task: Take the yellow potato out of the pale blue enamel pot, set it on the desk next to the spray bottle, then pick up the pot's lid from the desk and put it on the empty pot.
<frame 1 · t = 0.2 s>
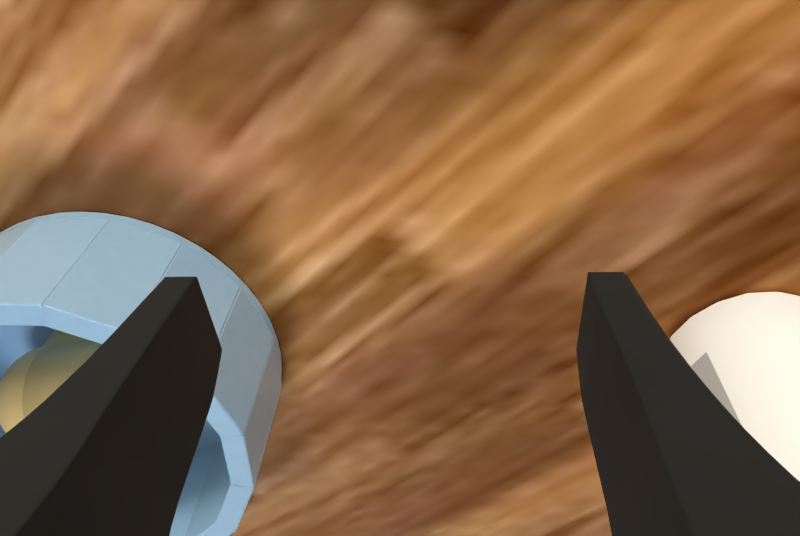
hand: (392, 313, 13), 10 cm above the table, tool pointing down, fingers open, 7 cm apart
pot: (123, 350, 28), on the table
spray bottle: (744, 357, 27), on the table
potato: (119, 359, 28), resting on pot
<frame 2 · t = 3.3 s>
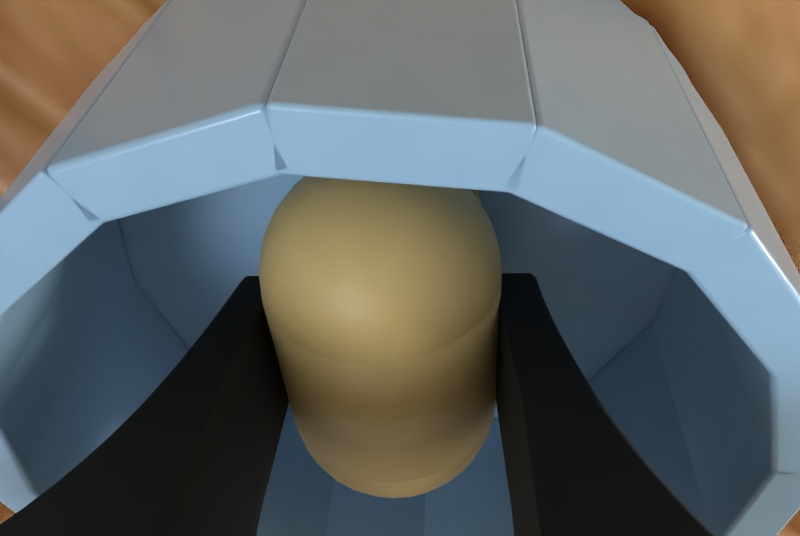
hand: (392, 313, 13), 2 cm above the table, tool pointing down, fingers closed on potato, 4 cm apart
pot: (397, 247, 15), on the table
potato: (394, 263, 14), point 1 cm above the table, touching gripper, pot
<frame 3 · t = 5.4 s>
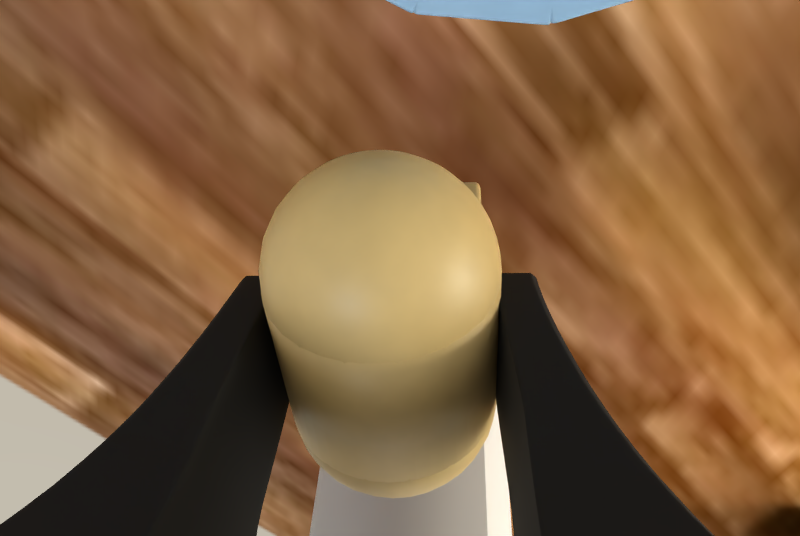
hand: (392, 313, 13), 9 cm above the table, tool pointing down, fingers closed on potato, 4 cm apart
spray bottle: (417, 385, 29), on the table
potato: (394, 263, 14), point 7 cm above the table, touching gripper
when the fingers open (1 cm above the table, at t = 7.8 s): potato stays where it is, on the table.
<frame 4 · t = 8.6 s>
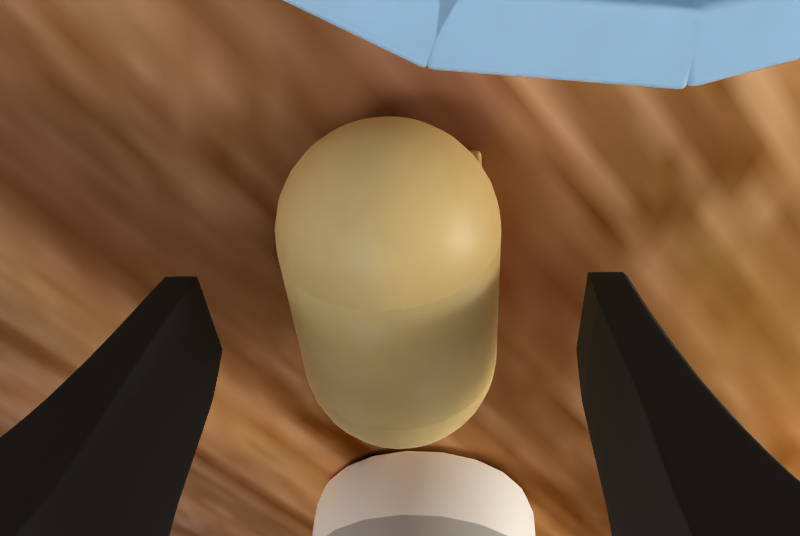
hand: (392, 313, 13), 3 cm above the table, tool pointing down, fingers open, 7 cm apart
spray bottle: (424, 500, 23), on the table
potato: (400, 229, 15), on the table
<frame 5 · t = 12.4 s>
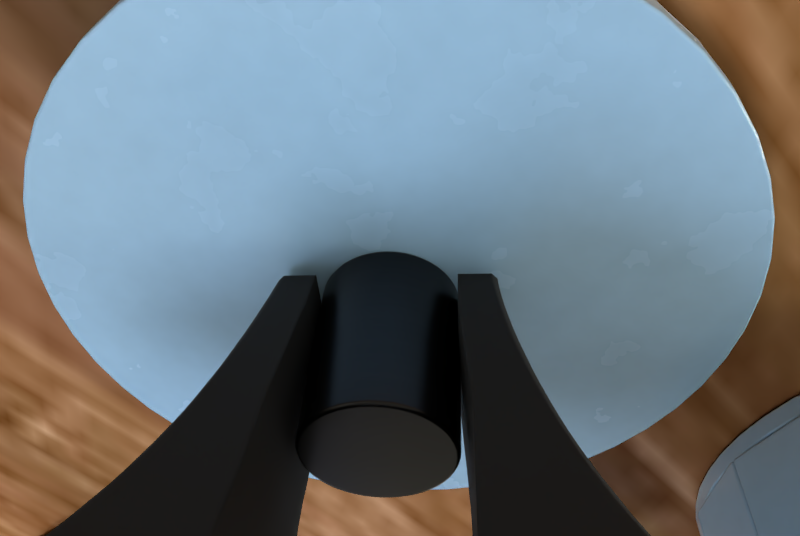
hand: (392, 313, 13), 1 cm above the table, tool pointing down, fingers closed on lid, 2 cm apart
lid: (393, 283, 14), point 1 cm above the table, touching gripper
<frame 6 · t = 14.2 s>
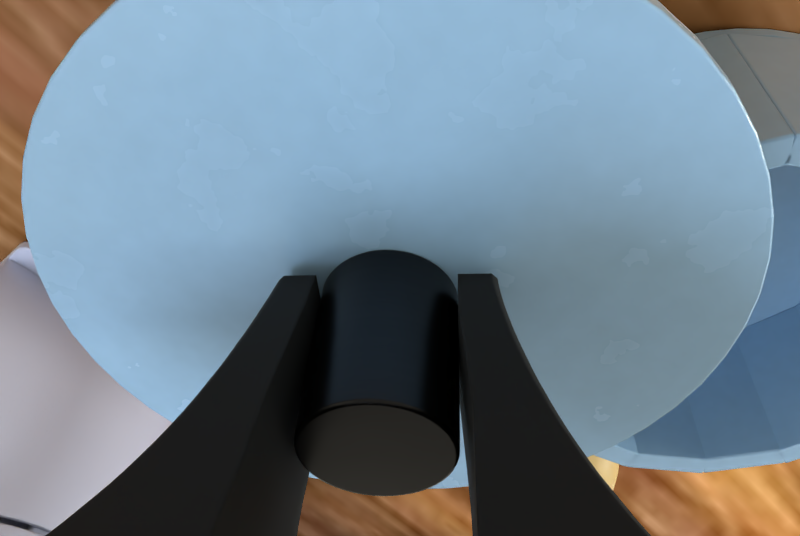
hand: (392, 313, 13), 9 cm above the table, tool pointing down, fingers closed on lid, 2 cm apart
pot: (688, 215, 23), on the table
lid: (392, 281, 14), point 9 cm above the table, touching gripper
potato: (559, 438, 32), on the table
when the fingers open (6 cm above the table, at t = 16.4 s): lid stays where it is, resting on pot.
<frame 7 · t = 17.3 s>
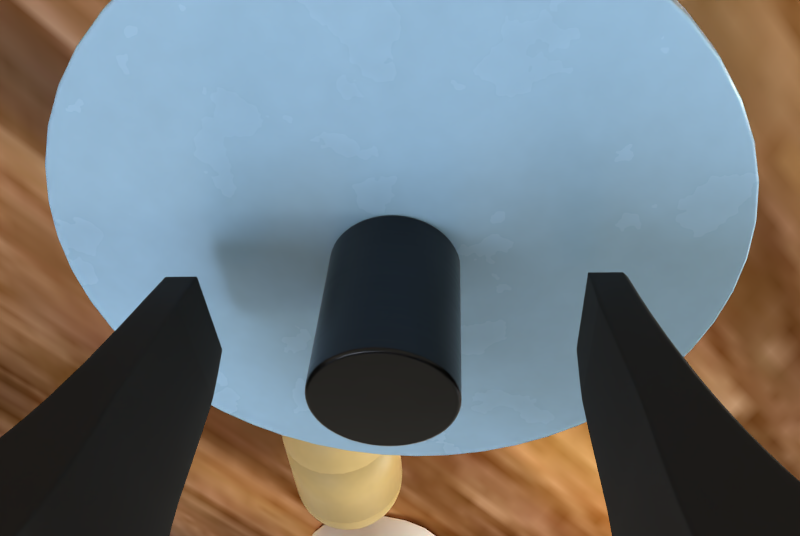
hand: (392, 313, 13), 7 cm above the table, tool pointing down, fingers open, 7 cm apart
lid: (396, 248, 15), point 5 cm above the table, touching pot
potato: (350, 404, 27), on the table
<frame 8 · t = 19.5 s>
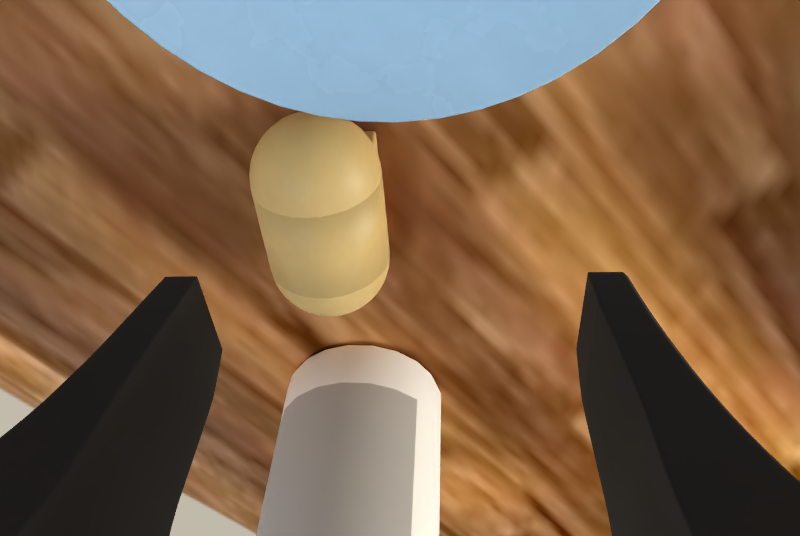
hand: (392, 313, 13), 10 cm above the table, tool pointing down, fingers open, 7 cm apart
spray bottle: (365, 388, 32), on the table
potato: (331, 182, 24), on the table
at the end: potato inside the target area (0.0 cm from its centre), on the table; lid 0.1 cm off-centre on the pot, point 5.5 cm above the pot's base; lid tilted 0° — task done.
